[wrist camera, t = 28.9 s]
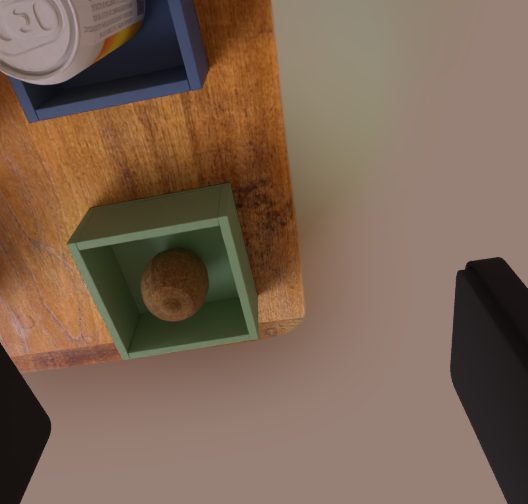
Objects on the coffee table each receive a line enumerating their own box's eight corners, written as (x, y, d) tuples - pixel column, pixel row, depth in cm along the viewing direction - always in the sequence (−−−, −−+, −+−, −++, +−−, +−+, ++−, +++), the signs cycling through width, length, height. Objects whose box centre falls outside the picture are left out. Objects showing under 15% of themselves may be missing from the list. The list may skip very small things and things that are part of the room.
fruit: (209, 287, 48) (202, 341, 41) (148, 281, 47) (132, 334, 41) (214, 236, 45) (208, 285, 38) (150, 229, 44) (132, 277, 37)
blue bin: (163, -128, 30) (143, -148, 25) (209, 69, 37) (202, 88, 31) (-16, -86, 31) (-73, -97, 26) (61, 99, 38) (28, 123, 32)
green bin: (230, 182, 42) (227, 215, 37) (257, 296, 50) (258, 339, 44) (89, 208, 43) (65, 244, 38) (136, 316, 50) (122, 360, 45)
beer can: (48, -41, 32) (-81, -42, 20) (131, -59, 32) (54, -74, 19) (82, 51, 35) (-10, 100, 23) (158, 35, 35) (107, 76, 22)
